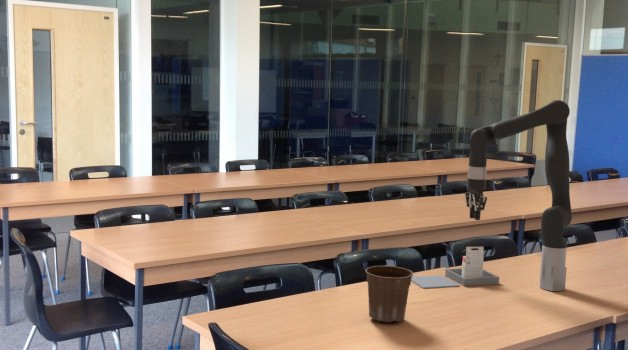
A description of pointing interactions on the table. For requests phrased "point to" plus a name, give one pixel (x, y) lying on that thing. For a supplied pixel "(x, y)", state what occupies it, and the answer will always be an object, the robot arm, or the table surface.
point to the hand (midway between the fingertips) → (474, 218)
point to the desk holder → (484, 280)
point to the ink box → (473, 263)
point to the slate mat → (433, 281)
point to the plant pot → (388, 292)
